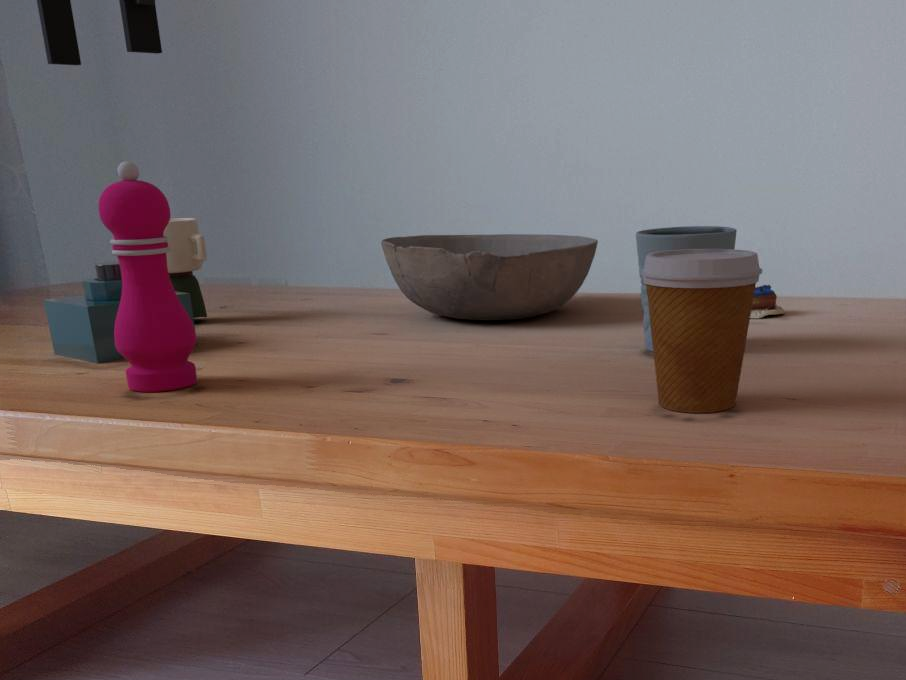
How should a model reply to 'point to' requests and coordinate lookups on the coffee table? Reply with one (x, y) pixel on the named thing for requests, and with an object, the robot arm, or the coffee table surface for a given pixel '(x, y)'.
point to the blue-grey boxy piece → (91, 321)
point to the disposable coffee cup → (699, 324)
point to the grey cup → (677, 241)
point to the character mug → (186, 260)
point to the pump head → (108, 271)
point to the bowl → (489, 272)
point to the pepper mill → (146, 287)
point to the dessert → (764, 302)
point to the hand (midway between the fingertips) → (103, 59)
